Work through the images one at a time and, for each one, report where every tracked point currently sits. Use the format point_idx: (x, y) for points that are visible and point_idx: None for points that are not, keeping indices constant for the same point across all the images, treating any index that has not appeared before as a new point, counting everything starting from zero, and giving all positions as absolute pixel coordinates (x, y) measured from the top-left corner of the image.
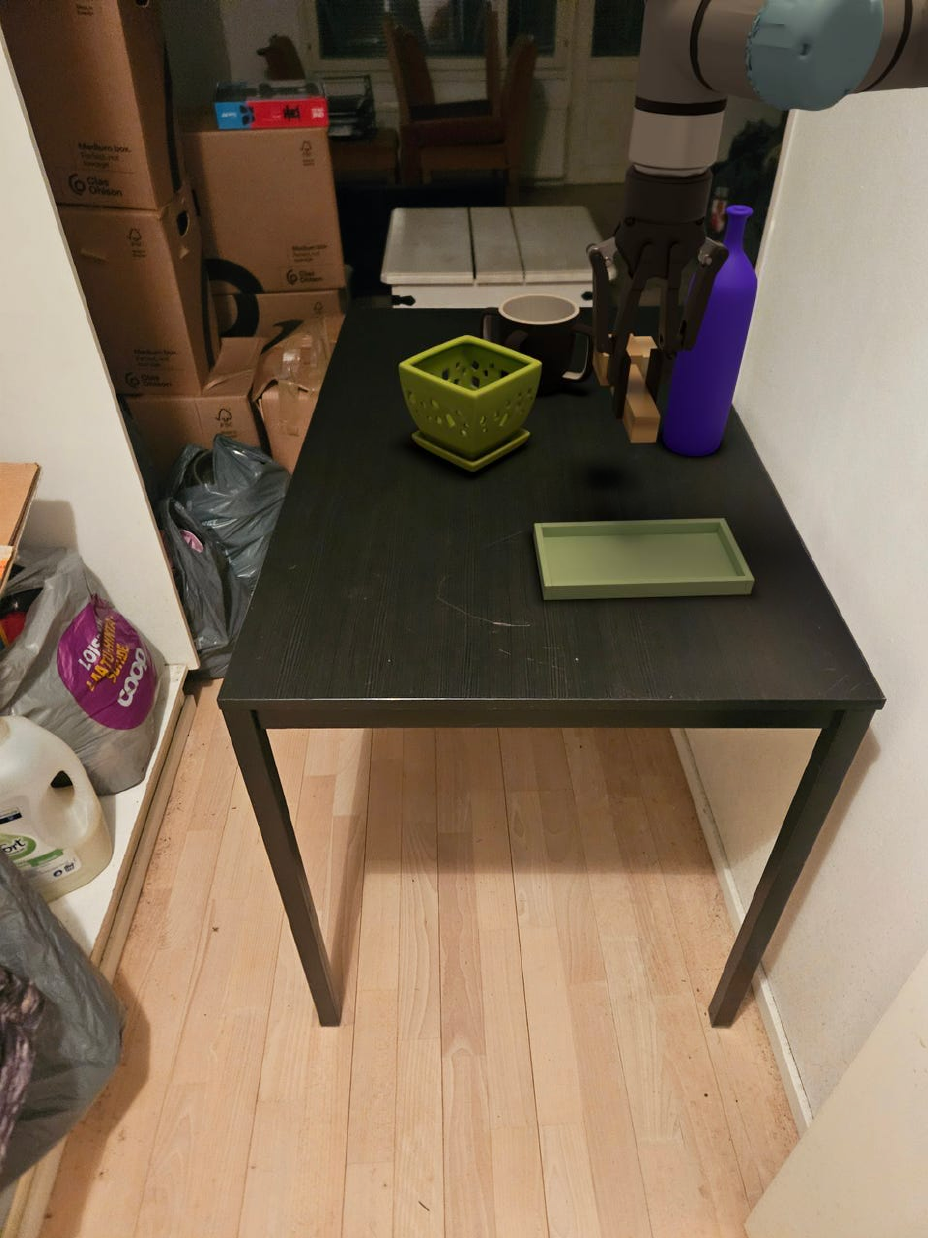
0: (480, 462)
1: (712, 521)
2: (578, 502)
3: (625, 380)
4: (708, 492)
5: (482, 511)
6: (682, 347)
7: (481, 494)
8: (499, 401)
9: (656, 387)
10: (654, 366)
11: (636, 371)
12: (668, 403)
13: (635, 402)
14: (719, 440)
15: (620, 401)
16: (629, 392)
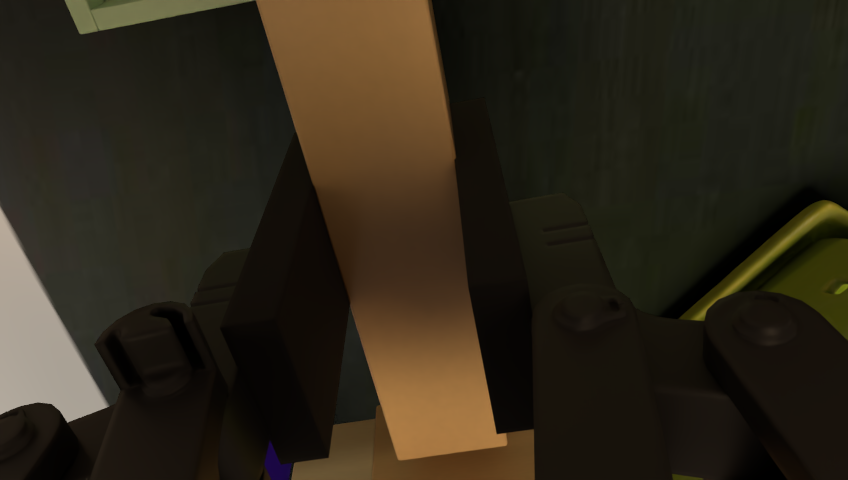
0: (803, 221)
1: (111, 10)
2: (512, 114)
3: (479, 199)
4: (160, 205)
5: (801, 30)
6: (78, 435)
7: (791, 116)
8: None
9: (278, 211)
10: (291, 295)
11: (396, 402)
12: (284, 476)
13: (399, 72)
14: None
15: (481, 137)
16: (435, 193)
